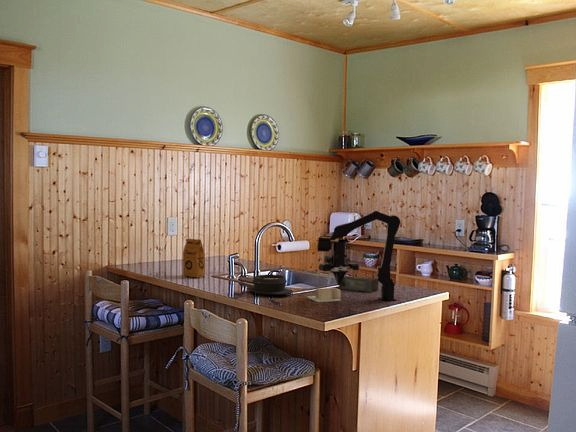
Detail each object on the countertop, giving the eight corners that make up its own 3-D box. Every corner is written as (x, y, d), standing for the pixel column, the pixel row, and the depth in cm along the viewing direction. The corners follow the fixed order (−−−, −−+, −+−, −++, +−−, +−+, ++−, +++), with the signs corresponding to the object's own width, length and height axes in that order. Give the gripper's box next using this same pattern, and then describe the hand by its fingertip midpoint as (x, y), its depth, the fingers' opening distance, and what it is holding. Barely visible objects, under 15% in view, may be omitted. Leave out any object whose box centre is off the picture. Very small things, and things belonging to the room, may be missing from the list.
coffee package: (195, 279, 310) (195, 240, 309) (180, 277, 317) (180, 238, 316) (208, 277, 318) (208, 238, 317) (193, 274, 325) (193, 237, 324)
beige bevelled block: (340, 290, 258) (321, 291, 255) (340, 298, 258) (320, 299, 255) (335, 287, 264) (315, 288, 260) (334, 296, 264) (315, 297, 260)
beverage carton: (345, 286, 294) (345, 274, 293) (379, 290, 283) (379, 278, 283) (338, 288, 287) (338, 276, 287) (372, 293, 277) (373, 280, 276)
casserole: (237, 293, 271) (237, 276, 270) (262, 288, 285) (262, 272, 285) (277, 300, 255) (277, 282, 255) (301, 294, 270) (301, 277, 270)
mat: (341, 300, 255) (341, 299, 255) (317, 302, 251) (317, 301, 251) (330, 295, 266) (330, 295, 266) (307, 297, 262) (307, 296, 262)
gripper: (349, 249, 271) (348, 281, 272) (314, 250, 265) (313, 283, 265) (360, 252, 261) (359, 285, 261) (323, 253, 254) (323, 287, 255)
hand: (338, 285), depth 261 cm, fingers closed
